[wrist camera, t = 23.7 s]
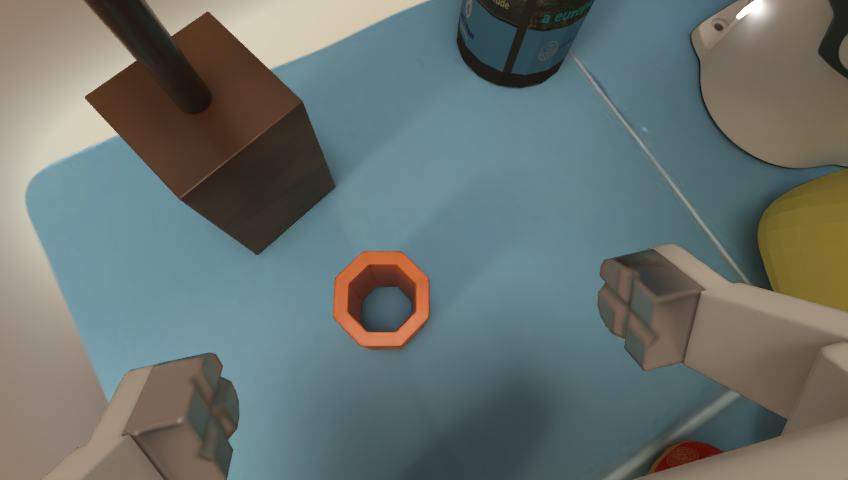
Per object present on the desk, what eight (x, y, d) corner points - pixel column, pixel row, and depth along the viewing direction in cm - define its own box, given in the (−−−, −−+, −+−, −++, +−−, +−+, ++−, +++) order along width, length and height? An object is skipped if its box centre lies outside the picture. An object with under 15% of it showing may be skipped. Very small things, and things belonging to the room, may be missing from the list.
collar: (387, 261, 33) (382, 232, 26) (437, 311, 33) (449, 297, 25) (335, 312, 32) (313, 297, 24) (386, 365, 31) (380, 367, 24)
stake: (270, 122, 36) (100, -182, 16) (335, 186, 35) (244, -53, 15) (190, 185, 34) (-115, -67, 14) (257, 255, 33) (28, 91, 13)
